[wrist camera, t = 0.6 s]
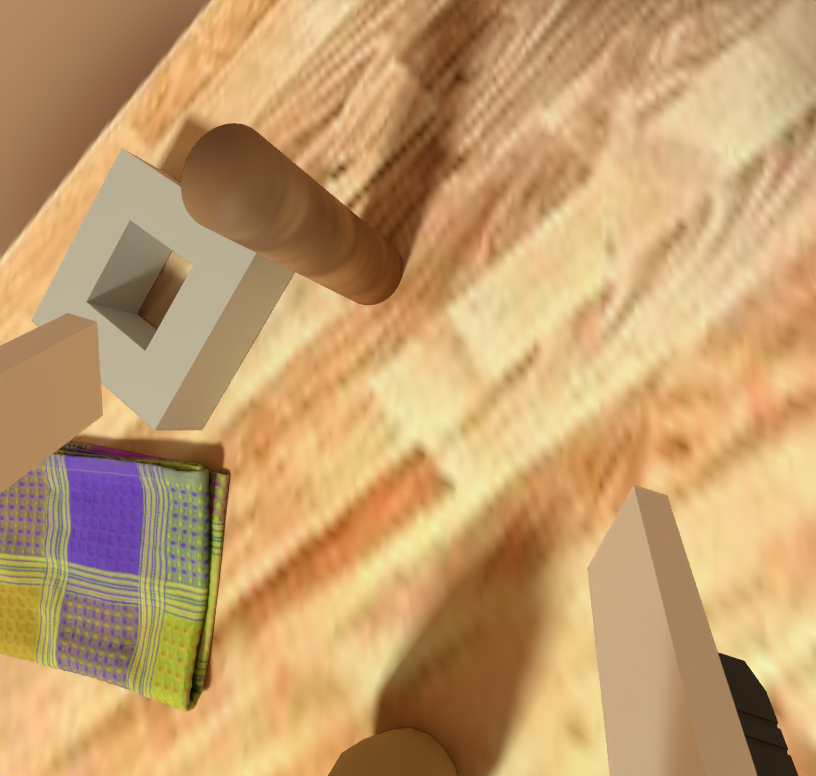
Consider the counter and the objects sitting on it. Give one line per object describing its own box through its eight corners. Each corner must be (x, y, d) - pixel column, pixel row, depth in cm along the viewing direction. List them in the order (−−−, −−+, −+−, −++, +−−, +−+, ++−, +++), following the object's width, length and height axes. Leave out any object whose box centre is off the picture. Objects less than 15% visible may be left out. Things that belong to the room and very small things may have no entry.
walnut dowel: (363, 227, 38) (214, 106, 23) (414, 258, 36) (290, 150, 22) (328, 284, 38) (164, 200, 24) (378, 317, 37) (234, 248, 23)
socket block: (169, 175, 43) (121, 147, 39) (300, 262, 39) (263, 241, 35) (85, 330, 45) (31, 320, 41) (201, 430, 41) (154, 430, 37)
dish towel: (209, 713, 40) (181, 733, 37) (-26, 635, 48) (-63, 646, 45) (236, 463, 40) (210, 465, 38) (-1, 428, 49) (-36, 428, 46)
